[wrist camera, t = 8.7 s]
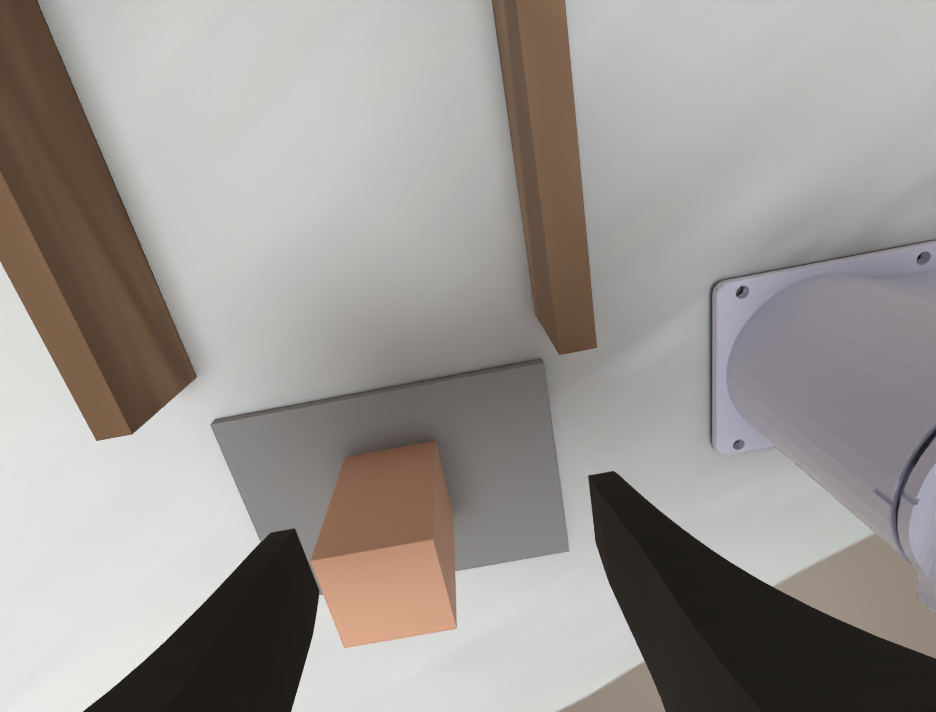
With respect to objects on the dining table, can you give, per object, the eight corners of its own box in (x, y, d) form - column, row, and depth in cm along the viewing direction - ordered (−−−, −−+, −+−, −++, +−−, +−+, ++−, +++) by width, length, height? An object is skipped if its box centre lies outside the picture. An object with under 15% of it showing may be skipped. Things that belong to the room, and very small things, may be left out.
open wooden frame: (507, -193, 14) (533, -339, 10) (564, 308, 20) (596, 347, 16) (-39, -76, 15) (-231, -169, 11) (168, 382, 20) (96, 440, 16)
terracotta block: (436, 440, 21) (433, 539, 16) (453, 514, 23) (456, 628, 17) (345, 457, 22) (310, 560, 16) (368, 529, 23) (344, 647, 17)
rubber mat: (541, 359, 21) (543, 363, 20) (567, 545, 24) (569, 551, 24) (214, 419, 21) (210, 424, 21) (288, 594, 25) (286, 600, 24)
